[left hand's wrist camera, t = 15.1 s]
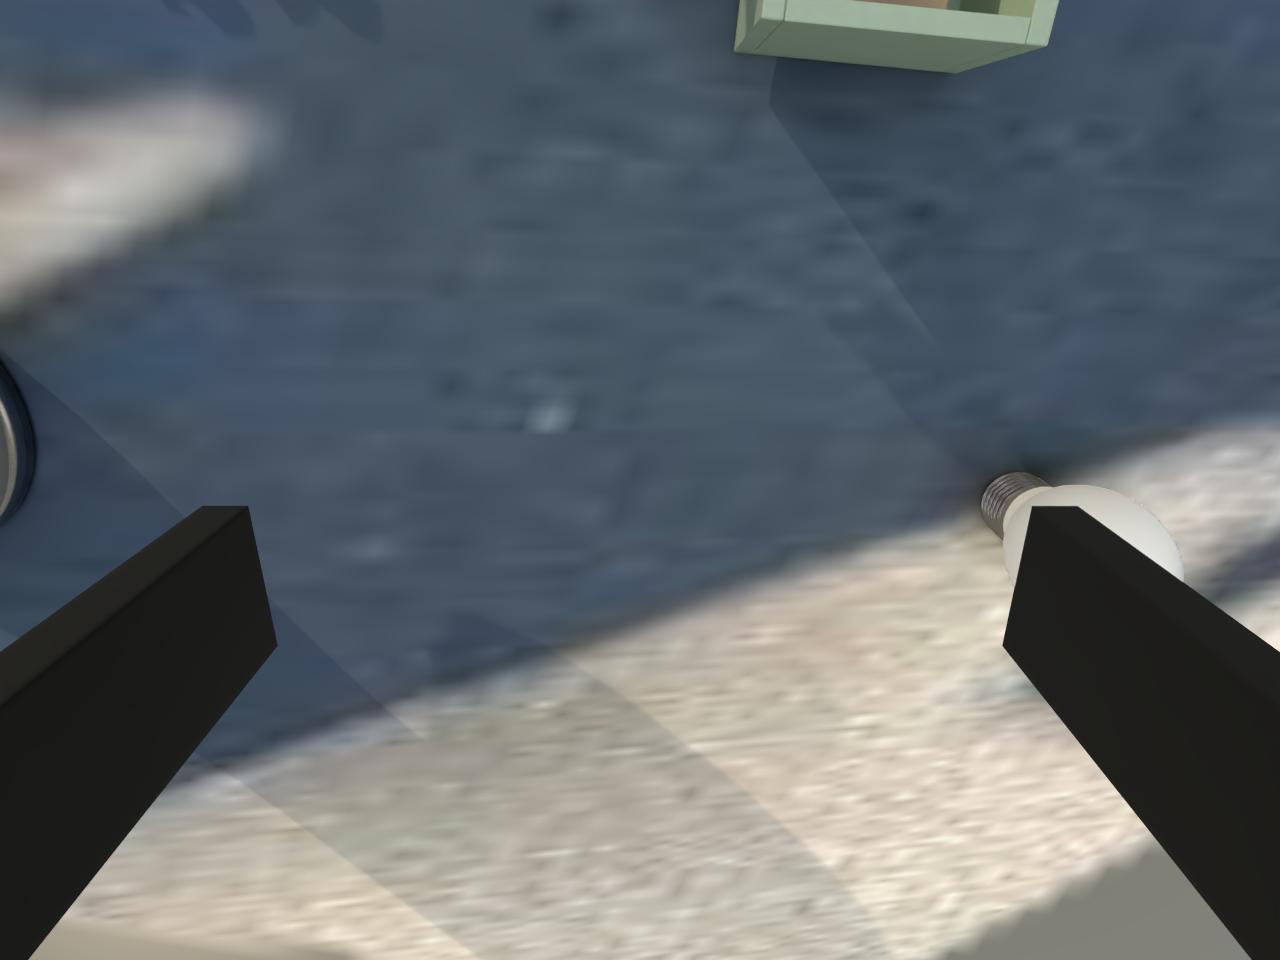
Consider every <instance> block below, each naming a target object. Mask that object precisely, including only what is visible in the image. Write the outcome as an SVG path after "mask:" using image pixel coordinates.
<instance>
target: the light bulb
mask: <svg viewBox="0 0 1280 960" xmlns="http://www.w3.org/2000/svg"><path fill="white" fill-rule="evenodd" d="M1032 506H1078V507H1080V508H1081V509H1083V510H1084V511H1085V512H1087V513H1088V514H1089V515H1091V516H1092V517H1094V518H1095V519H1096V520H1098V521H1099V522H1100V523H1102V524H1103V525H1105V526H1106V527H1107V528H1109V529H1110V530H1112V531H1113V532H1114V533H1116V534H1117V535H1118V536H1120V537H1121V538H1123V539H1124V540H1125V541H1127V542H1128V543H1130V544H1131V545H1132V546H1134V547H1135V548H1136V549H1138V550H1139V551H1141V552H1142V553H1143V554H1145V555H1146V556H1148V557H1149V558H1150V559H1152V560H1153V561H1154V562H1156V563H1157V564H1159V565H1160V566H1161V567H1163V568H1164V569H1165V570H1167V571H1168V572H1170V573H1171V574H1172V575H1174V576H1175V577H1177V578H1178V579H1179V580H1181V581H1182V582H1183V577H1184V576H1183V563H1182V558H1181V555H1180V552H1179V550H1178V547H1177V545H1176V543H1175V541H1174V539H1173V537H1172V535H1171V534H1170V533H1169V531H1168V530H1167V529H1166V527H1165V526H1164V525H1163V524H1162V523H1161V521H1160V520H1159V519H1158V518H1157V517H1156V516H1155V515H1154V514H1153V513H1151V512H1150V511H1149V510H1148V509H1146V508H1145V507H1144V506H1142V505H1141V504H1139V503H1138V502H1136V501H1135V500H1133V499H1131V498H1129V497H1127V496H1125V495H1123V494H1121V493H1118V492H1115V491H1113V490H1110V489H1106V488H1102V487H1097V486H1091V485H1063V486H1058V487H1050V486H1049V485H1048V484H1046V483H1045V482H1044V481H1042V480H1041V479H1039V478H1038V477H1036V476H1034V475H1032V474H1029V473H1023V472H1015V473H1009V474H1006V475H1003V476H1001V477H999V478H998V479H996V480H995V481H994V482H992V483H991V484H990V486H989V487H988V488H987V489H986V491H985V493H984V495H983V498H982V502H981V511H982V516H983V518H984V520H985V522H986V524H987V525H988V526H989V527H990V528H991V529H992V530H993V531H994V532H995V533H996V534H997V535H998V536H999V537H1000V538H1001V539H1002V540H1003V557H1004V564H1005V567H1006V570H1007V573H1008V576H1009V578H1010V581H1011V583H1012V584H1013V586H1014V587H1015V584H1016V579H1017V574H1018V569H1019V565H1020V560H1021V555H1022V551H1023V546H1024V541H1025V536H1026V532H1027V527H1028V522H1029V517H1030V513H1031V508H1032Z"/></svg>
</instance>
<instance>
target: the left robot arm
mask: <svg viewBox="0 0 1280 960" xmlns="http://www.w3.org/2000/svg"><path fill="white" fill-rule="evenodd" d="M33 465H34V445H33V438H32V431H31V427H30V423H29V420H28V416H27V413H26V411H25V408H24V405H23V402H22V400H21V398H20V396H19V394H18V392H17V390H16V388H15V386H14V384H13V383H12V381H11V379H10V377H9V376H8V374H7V373H6V371H5V370H4V368H3V367H2V365H1V364H0V526H2V525H3V524H4V523H5V522H6V521H7V520H8V519H9V518H10V517H11V516H12V515H13V514H14V513H15V512H16V510H17V509H18V508H19V506H20V505H21V503H22V501H23V500H24V497H25V495H26V493H27V491H28V488H29V485H30V482H31V478H32V473H33ZM277 646H278V645H277V641H276V636H275V631H274V626H273V622H272V617H271V612H270V607H269V603H268V598H267V593H266V588H265V584H264V579H263V574H262V569H261V565H260V560H259V555H258V551H257V546H256V541H255V536H254V532H253V527H252V522H251V517H250V513H249V508H248V506H202V507H200V508H199V509H197V510H196V511H195V512H193V513H192V514H191V515H189V516H188V517H186V518H185V519H184V520H182V521H181V522H180V523H178V524H177V525H175V526H174V527H173V528H171V529H170V530H168V531H167V532H166V533H164V534H163V535H162V536H160V537H159V538H157V539H156V540H155V541H153V542H152V543H150V544H149V545H148V546H146V547H145V548H144V549H142V550H141V551H139V552H138V553H137V554H135V555H134V556H132V557H131V558H130V559H128V560H127V561H126V562H124V563H123V564H121V565H120V566H119V567H117V568H116V569H115V570H113V571H112V572H110V573H109V574H108V575H106V576H105V577H103V578H102V579H101V580H99V581H98V582H97V583H95V584H94V585H92V586H91V587H90V588H88V589H87V590H85V591H84V592H83V593H81V594H80V595H79V596H77V597H76V598H74V599H73V600H72V601H70V602H69V603H67V604H66V605H65V606H63V607H62V608H61V609H59V610H58V611H56V612H55V613H54V614H52V615H51V616H49V617H48V618H47V619H45V620H44V621H43V622H41V623H40V624H38V625H37V626H36V627H34V628H33V629H32V630H30V631H29V632H27V633H26V634H25V635H23V636H22V637H20V638H19V639H18V640H16V641H15V642H14V643H12V644H11V645H9V646H8V647H7V648H5V649H4V650H2V651H1V652H0V960H28V959H29V958H30V957H31V955H32V954H33V953H34V952H35V950H36V949H37V948H38V947H39V945H40V944H41V943H42V942H43V940H44V939H45V938H46V936H47V935H48V934H49V933H50V932H51V930H52V929H53V928H54V927H55V925H56V924H57V923H58V922H59V920H60V919H61V918H62V916H63V915H64V914H65V913H66V911H67V910H68V909H69V908H70V906H71V905H72V904H73V903H74V901H75V900H76V899H77V898H78V896H79V895H80V894H81V893H82V891H83V890H84V889H85V888H86V886H87V885H88V884H89V882H90V881H91V880H92V879H93V877H94V876H95V875H96V874H97V872H98V871H99V870H100V869H101V867H102V866H103V865H104V864H105V862H106V861H107V860H108V859H109V857H110V856H111V855H112V854H113V852H114V851H115V850H116V849H117V847H118V846H119V845H120V843H121V842H122V841H123V840H124V838H125V837H126V836H127V835H128V833H129V832H130V831H131V830H132V828H133V827H134V826H135V825H136V823H137V822H138V821H139V820H140V818H141V817H142V816H143V815H144V813H145V812H146V811H147V809H148V808H149V807H150V806H151V804H152V803H153V802H154V801H155V799H156V798H157V797H158V796H159V794H160V793H161V792H162V791H163V789H164V788H165V787H166V786H167V784H168V783H169V782H170V781H171V779H172V778H173V777H174V775H175V774H176V773H177V772H178V770H179V769H180V768H181V767H182V765H183V764H184V763H185V762H186V760H187V759H188V758H189V757H190V755H191V754H192V753H193V752H194V750H195V749H196V748H197V747H198V745H199V744H200V743H201V742H202V740H203V739H204V738H205V736H206V735H207V734H208V733H209V731H210V730H211V729H212V728H213V726H214V725H215V724H216V723H217V721H218V720H219V719H220V718H221V716H222V715H223V714H224V713H225V711H226V710H227V709H228V708H229V706H230V705H231V704H232V702H233V701H234V700H235V699H236V697H237V696H238V695H239V694H240V692H241V691H242V690H243V689H244V687H245V686H246V685H247V684H248V682H249V681H250V680H251V679H252V677H253V676H254V675H255V674H256V672H257V671H258V670H259V669H260V667H261V666H262V665H263V663H264V662H265V661H266V660H267V658H268V657H269V656H270V655H271V653H272V652H273V651H274V650H275V648H276V647H277ZM1002 646H1003V647H1004V648H1005V650H1006V651H1007V652H1008V653H1009V655H1010V656H1011V657H1012V658H1013V660H1014V661H1015V662H1016V663H1017V665H1018V666H1019V667H1020V669H1021V670H1022V671H1023V672H1024V674H1025V675H1026V676H1027V677H1028V679H1029V680H1030V681H1031V682H1032V684H1033V685H1034V686H1035V687H1036V689H1037V690H1038V691H1039V692H1040V694H1041V695H1042V696H1043V697H1044V699H1045V700H1046V701H1047V702H1048V704H1049V705H1050V706H1051V708H1052V709H1053V710H1054V711H1055V713H1056V714H1057V715H1058V716H1059V718H1060V719H1061V720H1062V721H1063V723H1064V724H1065V725H1066V726H1067V728H1068V729H1069V730H1070V731H1071V733H1072V734H1073V735H1074V736H1075V738H1076V739H1077V740H1078V742H1079V743H1080V744H1081V745H1082V747H1083V748H1084V749H1085V750H1086V752H1087V753H1088V754H1089V755H1090V757H1091V758H1092V759H1093V760H1094V762H1095V763H1096V764H1097V765H1098V767H1099V768H1100V769H1101V770H1102V772H1103V773H1104V774H1105V775H1106V777H1107V778H1108V779H1109V781H1110V782H1111V783H1112V784H1113V786H1114V787H1115V788H1116V789H1117V791H1118V792H1119V793H1120V794H1121V796H1122V797H1123V798H1124V799H1125V801H1126V802H1127V803H1128V804H1129V806H1130V807H1131V808H1132V809H1133V811H1134V812H1135V813H1136V815H1137V816H1138V817H1139V818H1140V820H1141V821H1142V822H1143V823H1144V825H1145V826H1146V827H1147V828H1148V830H1149V831H1150V832H1151V833H1152V835H1153V836H1154V837H1155V838H1156V840H1157V841H1158V842H1159V843H1160V845H1161V846H1162V847H1163V849H1164V850H1165V851H1166V852H1167V854H1168V855H1169V856H1170V857H1171V859H1172V860H1173V861H1174V862H1175V864H1176V865H1177V866H1178V867H1179V869H1180V870H1181V871H1182V872H1183V874H1184V875H1185V876H1186V877H1187V879H1188V880H1189V881H1190V882H1191V884H1192V885H1193V886H1194V888H1195V889H1196V890H1197V891H1198V893H1199V894H1200V895H1201V896H1202V898H1203V899H1204V900H1205V901H1206V903H1207V904H1208V905H1209V906H1210V908H1211V909H1212V910H1213V911H1214V913H1215V914H1216V915H1217V916H1218V918H1219V919H1220V920H1221V922H1222V923H1223V924H1224V925H1225V927H1226V928H1227V929H1228V930H1229V932H1230V933H1231V934H1232V935H1233V937H1234V938H1235V939H1236V940H1237V942H1238V943H1239V944H1240V945H1241V947H1242V948H1243V949H1244V950H1245V952H1246V953H1247V954H1248V955H1249V957H1250V958H1251V959H1252V960H1280V652H1279V651H1278V650H1276V649H1275V648H1273V647H1272V646H1271V645H1269V644H1268V643H1266V642H1265V641H1264V640H1262V639H1261V638H1260V637H1258V636H1257V635H1255V634H1254V633H1253V632H1251V631H1250V630H1248V629H1247V628H1246V627H1244V626H1243V625H1242V624H1240V623H1239V622H1237V621H1236V620H1235V619H1233V618H1232V617H1231V616H1229V615H1228V614H1226V613H1225V612H1224V611H1222V610H1221V609H1219V608H1218V607H1217V606H1215V605H1214V604H1213V603H1211V602H1210V601H1208V600H1207V599H1206V598H1204V597H1203V596H1201V595H1200V594H1199V593H1197V592H1196V591H1195V590H1193V589H1192V588H1190V587H1189V586H1188V585H1186V584H1185V583H1183V582H1182V581H1181V580H1179V579H1178V578H1177V577H1175V576H1174V575H1172V574H1171V573H1170V572H1168V571H1167V570H1165V569H1164V568H1163V567H1161V566H1160V565H1159V564H1157V563H1156V562H1154V561H1153V560H1152V559H1150V558H1149V557H1148V556H1146V555H1145V554H1143V553H1142V552H1141V551H1139V550H1138V549H1136V548H1135V547H1134V546H1132V545H1131V544H1130V543H1128V542H1127V541H1125V540H1124V539H1123V538H1121V537H1120V536H1118V535H1117V534H1116V533H1114V532H1113V531H1112V530H1110V529H1109V528H1107V527H1106V526H1105V525H1103V524H1102V523H1100V522H1099V521H1098V520H1096V519H1095V518H1094V517H1092V516H1091V515H1089V514H1088V513H1087V512H1085V511H1084V510H1083V509H1081V508H1080V507H1078V506H1032V508H1031V513H1030V517H1029V522H1028V527H1027V532H1026V536H1025V541H1024V546H1023V551H1022V555H1021V560H1020V565H1019V569H1018V574H1017V579H1016V584H1015V588H1014V593H1013V598H1012V603H1011V607H1010V612H1009V617H1008V622H1007V626H1006V631H1005V636H1004V641H1003V645H1002Z"/></svg>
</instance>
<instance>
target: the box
mask: <svg viewBox="0 0 1280 960" xmlns="http://www.w3.org/2000/svg"><path fill="white" fill-rule="evenodd" d="M1058 3H1059V0H949V1H948V6H947V10H946V9H935V8H925V7H915V6H905V5H895V4H885V3H874V2H864V1H854V0H740V4H739V13H738V22H737V30H736V39H735V48H734V52H738V53H748V54H758V55H769V56H779V57H790V58H800V59H811V60H821V61H831V62H842V63H852V64H863V65H873V66H884V67H894V68H905V69H915V70H926V71H936V72H947V73H959V72H962V71H965V70H969V69H972V68H975V67H979V66H982V65H985V64H989V63H992V62H996V61H999V60H1002V59H1006V58H1009V57H1012V56H1016V55H1019V54H1022V53H1026V52H1029V51H1032V50H1036V49H1039V48H1043V47H1046V46H1047V45H1048V41H1049V37H1050V33H1051V30H1052V26H1053V22H1054V18H1055V14H1056V10H1057V6H1058Z"/></svg>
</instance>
